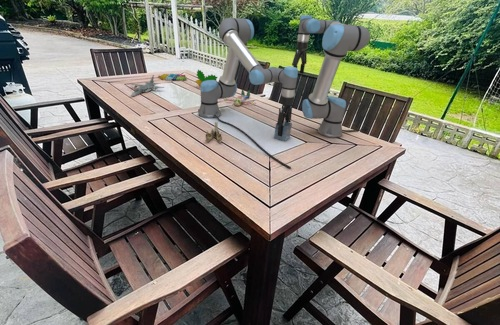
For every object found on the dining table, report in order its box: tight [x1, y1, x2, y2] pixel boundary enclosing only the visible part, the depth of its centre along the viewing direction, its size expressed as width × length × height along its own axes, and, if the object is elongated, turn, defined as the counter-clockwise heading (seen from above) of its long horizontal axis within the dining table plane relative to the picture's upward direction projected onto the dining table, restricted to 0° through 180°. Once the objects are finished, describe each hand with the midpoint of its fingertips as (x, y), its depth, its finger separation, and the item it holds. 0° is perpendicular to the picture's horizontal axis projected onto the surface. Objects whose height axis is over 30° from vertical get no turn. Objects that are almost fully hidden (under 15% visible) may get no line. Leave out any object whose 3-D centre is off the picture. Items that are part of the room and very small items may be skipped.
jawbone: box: [205, 121, 223, 144], centre depth 149 cm, size 9×15×10 cm
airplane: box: [130, 74, 165, 97], centre depth 228 cm, size 38×32×10 cm
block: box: [273, 120, 293, 142], centre depth 157 cm, size 7×7×10 cm
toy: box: [223, 89, 257, 106], centre depth 219 cm, size 28×7×30 cm
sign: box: [158, 73, 187, 82], centre depth 282 cm, size 26×2×30 cm
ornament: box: [194, 69, 219, 87], centre depth 252 cm, size 21×8×15 cm, turn 105°
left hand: (282, 133), depth 158 cm, fingers closed on block, 7 cm apart
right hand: (297, 74), depth 184 cm, fingers open, 13 cm apart
